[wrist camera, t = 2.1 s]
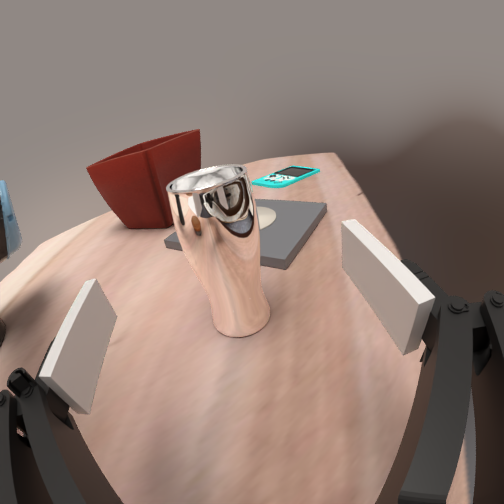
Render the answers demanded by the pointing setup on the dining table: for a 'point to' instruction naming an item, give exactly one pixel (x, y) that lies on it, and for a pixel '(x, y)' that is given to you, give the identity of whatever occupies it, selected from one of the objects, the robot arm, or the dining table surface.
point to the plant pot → (146, 178)
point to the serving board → (279, 229)
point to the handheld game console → (285, 177)
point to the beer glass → (222, 244)
